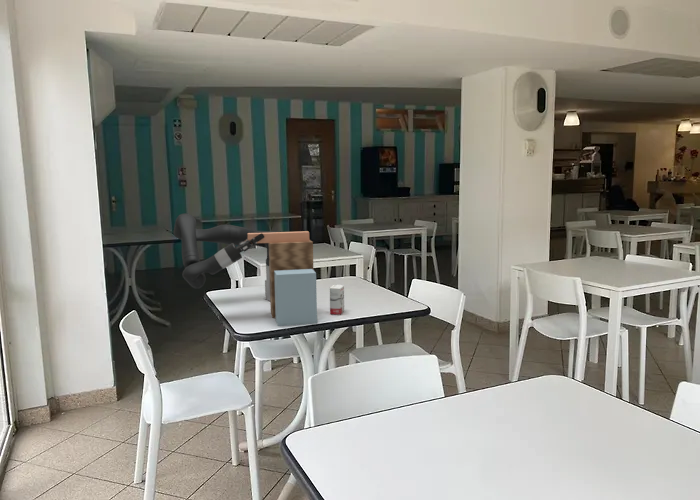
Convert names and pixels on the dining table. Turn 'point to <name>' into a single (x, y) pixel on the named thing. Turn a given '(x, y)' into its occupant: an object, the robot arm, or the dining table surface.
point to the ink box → (336, 299)
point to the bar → (281, 237)
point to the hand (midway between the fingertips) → (262, 234)
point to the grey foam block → (295, 297)
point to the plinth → (288, 261)
